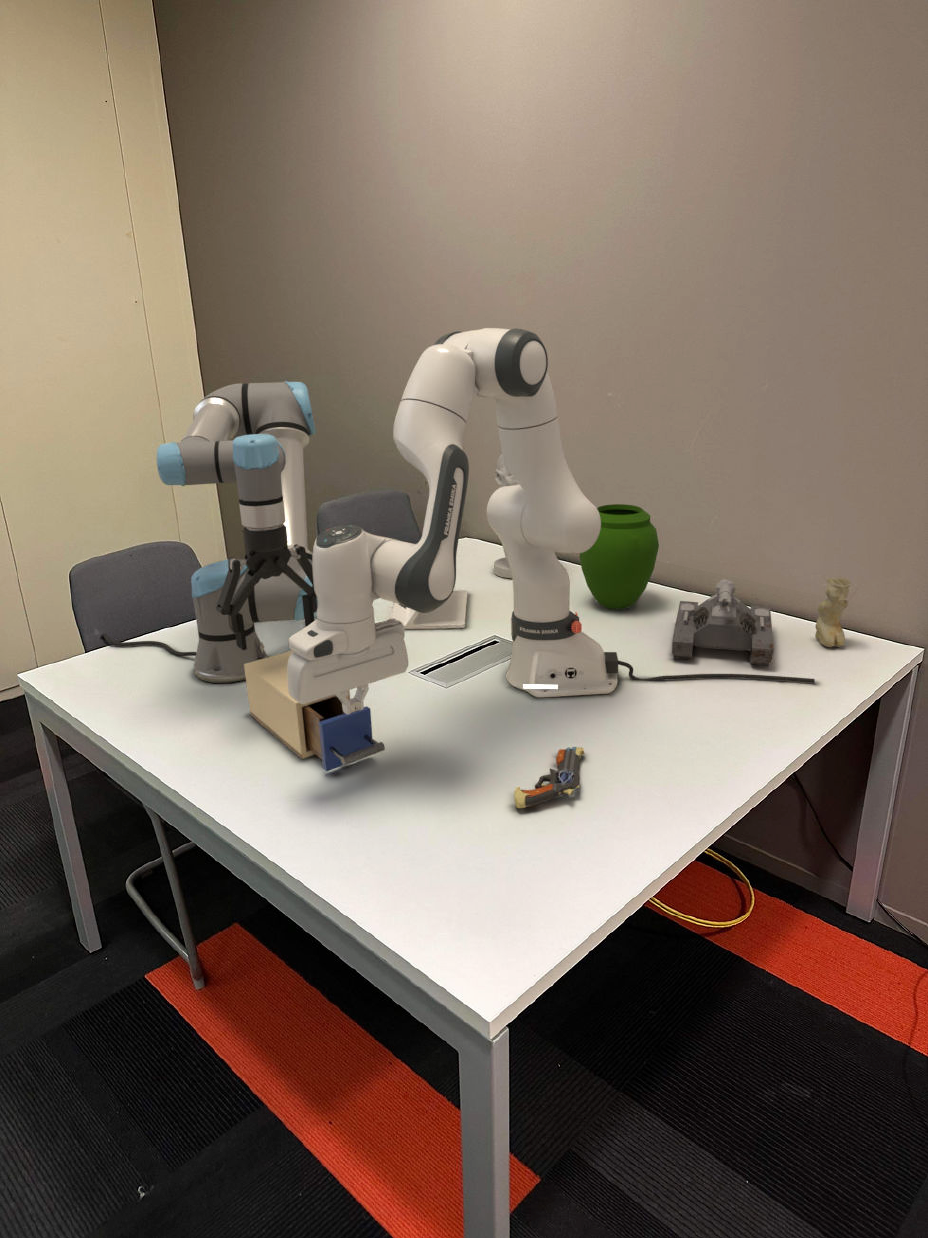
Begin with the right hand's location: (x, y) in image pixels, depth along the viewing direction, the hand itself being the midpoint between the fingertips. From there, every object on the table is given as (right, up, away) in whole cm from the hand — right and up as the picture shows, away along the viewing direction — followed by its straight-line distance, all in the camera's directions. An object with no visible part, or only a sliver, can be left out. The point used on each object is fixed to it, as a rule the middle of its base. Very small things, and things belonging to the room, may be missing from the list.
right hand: (353, 711), depth 137 cm
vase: (+56, +18, +77) cm, 97 cm away
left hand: (-16, +11, +19) cm, 28 cm away
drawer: (-6, -7, +11) cm, 15 cm away
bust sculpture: (+35, +27, +102) cm, 111 cm away
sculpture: (+98, +9, +50) cm, 110 cm away
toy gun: (+32, -11, 0) cm, 34 cm away
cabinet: (-12, -5, +20) cm, 24 cm away
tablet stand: (+9, +17, +77) cm, 79 cm away
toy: (+75, +9, +51) cm, 91 cm away
